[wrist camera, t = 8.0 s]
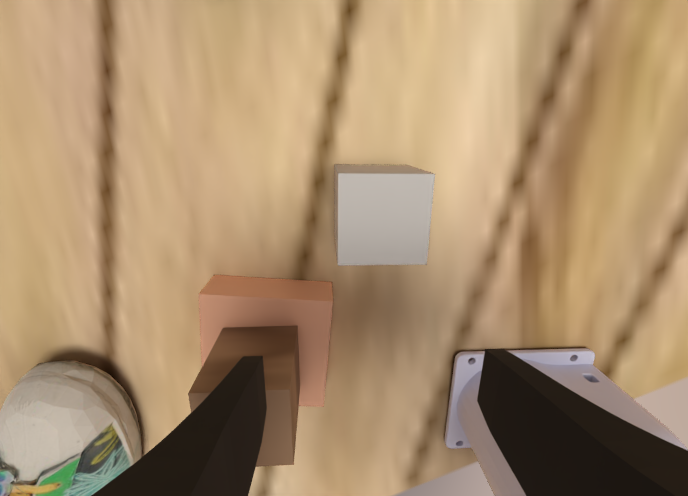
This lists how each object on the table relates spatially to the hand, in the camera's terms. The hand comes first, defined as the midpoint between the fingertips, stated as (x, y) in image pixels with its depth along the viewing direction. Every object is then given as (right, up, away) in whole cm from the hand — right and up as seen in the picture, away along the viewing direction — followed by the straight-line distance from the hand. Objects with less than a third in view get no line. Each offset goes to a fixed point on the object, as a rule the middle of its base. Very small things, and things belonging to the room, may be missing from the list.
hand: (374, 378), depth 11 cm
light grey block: (0, +7, +8) cm, 11 cm away
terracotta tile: (-6, -1, +11) cm, 12 cm away
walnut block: (-6, -2, +8) cm, 10 cm away
